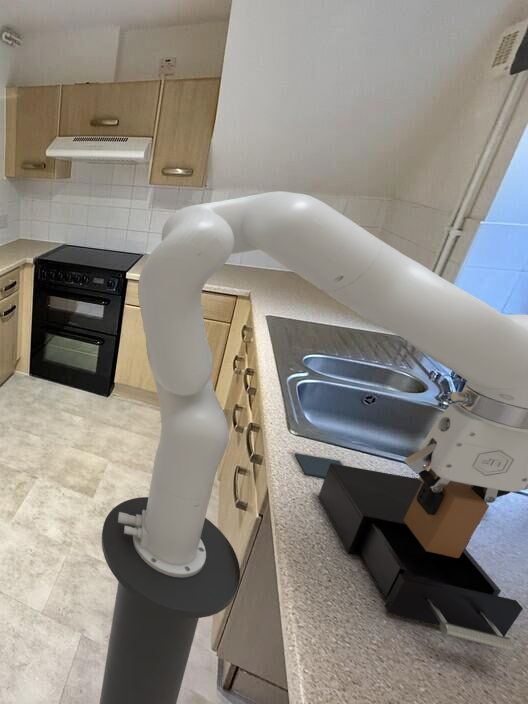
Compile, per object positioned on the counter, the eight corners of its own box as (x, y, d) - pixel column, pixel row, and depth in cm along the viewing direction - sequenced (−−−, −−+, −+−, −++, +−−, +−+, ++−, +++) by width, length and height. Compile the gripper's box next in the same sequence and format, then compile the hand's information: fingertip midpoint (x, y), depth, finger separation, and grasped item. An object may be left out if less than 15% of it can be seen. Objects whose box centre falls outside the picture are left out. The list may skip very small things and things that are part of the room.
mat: (305, 474, 90) (305, 472, 90) (294, 454, 96) (295, 452, 96) (352, 483, 88) (353, 481, 88) (338, 462, 94) (339, 460, 94)
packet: (425, 551, 61) (454, 499, 57) (402, 520, 66) (427, 470, 63) (458, 558, 60) (489, 506, 57) (432, 526, 66) (459, 476, 62)
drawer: (529, 679, 54) (554, 644, 51) (406, 646, 57) (424, 613, 55) (442, 564, 69) (459, 534, 67) (350, 544, 73) (362, 514, 70)
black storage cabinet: (450, 576, 68) (471, 537, 65) (347, 553, 72) (363, 515, 69) (403, 513, 80) (419, 478, 77) (317, 497, 84) (330, 462, 81)
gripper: (442, 409, 54) (391, 517, 60) (611, 436, 49) (536, 548, 56) (408, 382, 60) (365, 481, 67) (555, 403, 56) (494, 507, 63)
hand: (444, 510), depth 61 cm, fingers closed on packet, 4 cm apart
